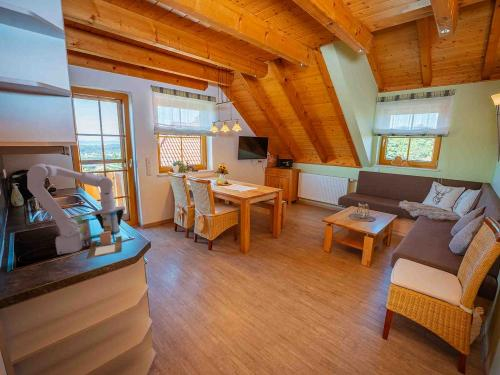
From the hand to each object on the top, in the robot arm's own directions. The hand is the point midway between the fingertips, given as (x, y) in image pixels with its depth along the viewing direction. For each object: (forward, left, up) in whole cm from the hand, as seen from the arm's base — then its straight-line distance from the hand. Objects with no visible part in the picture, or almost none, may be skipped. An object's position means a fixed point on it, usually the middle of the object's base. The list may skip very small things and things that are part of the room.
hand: (111, 226), depth 124 cm
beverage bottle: (-1, +16, -10) cm, 18 cm away
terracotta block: (-3, +1, -10) cm, 10 cm away
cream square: (-3, -10, -8) cm, 14 cm away
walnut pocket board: (-3, -5, -9) cm, 11 cm away
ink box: (-15, +13, -10) cm, 22 cm away
